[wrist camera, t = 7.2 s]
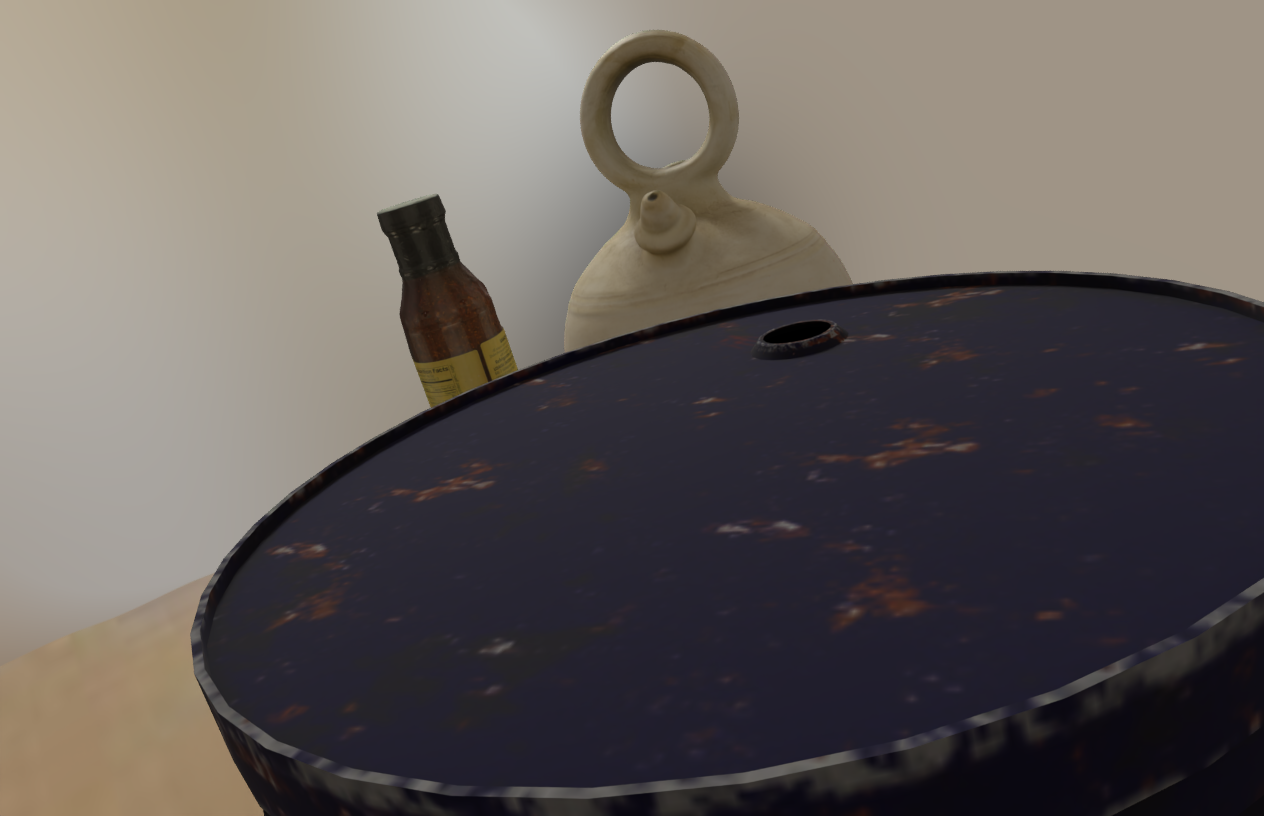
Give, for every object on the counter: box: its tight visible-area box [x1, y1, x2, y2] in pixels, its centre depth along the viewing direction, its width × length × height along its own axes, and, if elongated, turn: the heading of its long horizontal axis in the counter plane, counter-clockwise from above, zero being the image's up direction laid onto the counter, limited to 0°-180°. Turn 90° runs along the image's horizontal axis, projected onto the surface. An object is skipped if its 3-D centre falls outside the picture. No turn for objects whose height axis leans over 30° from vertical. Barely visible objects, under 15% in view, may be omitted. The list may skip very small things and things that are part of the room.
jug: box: [564, 30, 853, 353], centre depth 49 cm, size 15×16×25 cm
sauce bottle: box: [377, 194, 518, 408], centre depth 63 cm, size 6×6×20 cm
